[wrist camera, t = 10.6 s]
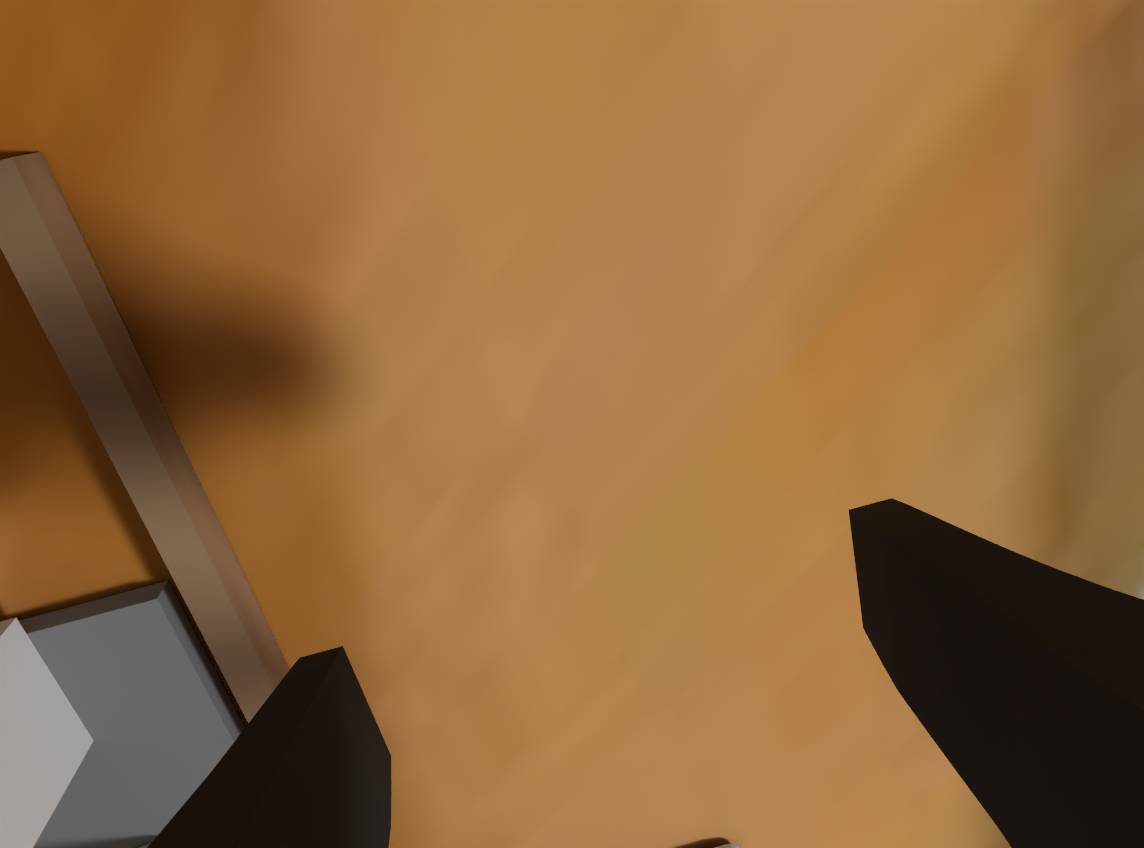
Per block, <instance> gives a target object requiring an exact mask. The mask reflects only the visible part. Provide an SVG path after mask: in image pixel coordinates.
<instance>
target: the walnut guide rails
mask: <svg viewBox="0 0 1144 848" xmlns="http://www.w3.org/2000/svg"><path fill="white" fill-rule="evenodd" d="M0 248H1V250H2V252H3V254H4V256H5V258H6V260H7V262H8V263H9V265H10V267H11V269H12V271H13V273H14V275H15V277H16V279H17V281H18V283H19V285H20V286H21V288H22V290H23V292H24V294H25V296H26V298H27V300H28V302H29V304H30V306H31V308H32V309H33V311H34V313H35V315H36V317H37V319H38V321H39V323H40V325H41V327H42V329H43V331H44V332H45V334H46V336H47V338H48V340H49V342H50V344H51V346H52V348H53V350H54V352H55V354H56V355H57V357H58V359H59V361H60V363H61V365H62V367H63V369H64V371H65V373H66V375H67V377H68V378H69V380H70V382H71V384H72V386H73V388H74V390H75V392H76V394H77V396H78V398H79V400H80V401H81V403H82V405H83V407H84V409H85V411H86V413H87V415H88V417H89V419H90V421H91V423H92V424H93V426H94V428H95V430H96V432H97V434H98V436H99V438H100V440H101V442H102V444H103V446H104V447H105V449H106V451H107V453H108V455H109V457H110V459H111V461H112V463H113V465H114V467H115V469H116V470H117V472H118V474H119V476H120V478H121V480H122V482H123V484H124V486H125V488H126V490H127V492H128V493H129V495H130V497H131V499H132V501H133V503H134V505H135V507H136V509H137V511H138V513H139V515H140V516H141V518H142V520H143V522H144V524H145V526H146V528H147V530H148V532H149V534H150V536H151V538H152V539H153V541H154V543H155V545H156V547H157V549H158V551H159V553H160V555H161V557H162V559H163V561H164V562H165V564H166V566H167V568H168V570H169V572H170V574H171V576H172V578H173V580H174V582H175V584H176V585H177V587H178V589H179V591H180V593H181V595H182V597H183V599H184V601H185V603H186V605H187V606H188V608H189V610H190V612H191V614H192V616H193V618H194V620H195V622H196V624H197V626H198V628H199V629H200V631H201V633H202V635H203V637H204V639H205V641H206V643H207V645H208V647H209V649H210V651H211V652H212V654H213V656H214V658H215V660H216V662H217V664H218V666H219V668H220V670H221V672H222V674H223V675H224V677H225V679H226V681H227V683H228V685H229V687H230V689H231V691H232V693H233V695H234V697H235V698H236V700H237V702H238V704H239V706H240V708H241V710H242V712H243V714H244V716H245V718H246V720H247V721H248V723H249V722H250V721H251V720H252V718H253V717H254V716H255V714H256V713H257V712H258V710H259V709H260V708H261V706H262V705H263V704H264V702H265V701H266V700H267V698H268V697H269V696H270V695H271V693H272V692H273V691H274V689H275V688H276V687H277V685H278V684H279V683H280V682H281V680H282V679H283V678H284V676H285V675H286V674H287V673H288V671H289V668H288V666H287V663H286V661H285V659H284V657H283V655H282V653H281V651H280V649H279V647H278V645H277V643H276V641H275V638H274V636H273V634H272V632H271V630H270V628H269V626H268V624H267V622H266V620H265V618H264V615H263V613H262V611H261V609H260V607H259V605H258V603H257V601H256V599H255V597H254V595H253V593H252V590H251V588H250V586H249V584H248V582H247V580H246V578H245V576H244V574H243V572H242V570H241V568H240V565H239V563H238V561H237V559H236V557H235V555H234V553H233V551H232V549H231V547H230V545H229V542H228V540H227V538H226V536H225V534H224V532H223V530H222V528H221V526H220V524H219V522H218V520H217V517H216V515H215V513H214V511H213V509H212V507H211V505H210V503H209V501H208V499H207V497H206V495H205V492H204V490H203V488H202V486H201V484H200V482H199V480H198V478H197V476H196V474H195V472H194V469H193V467H192V465H191V463H190V461H189V459H188V457H187V455H186V453H185V451H184V449H183V447H182V444H181V442H180V440H179V438H178V436H177V434H176V432H175V430H174V428H173V426H172V424H171V422H170V419H169V417H168V415H167V413H166V411H165V409H164V407H163V405H162V403H161V401H160V399H159V396H158V394H157V392H156V390H155V388H154V386H153V384H152V382H151V380H150V378H149V376H148V374H147V371H146V369H145V367H144V365H143V363H142V361H141V359H140V357H139V355H138V353H137V351H136V349H135V346H134V344H133V342H132V340H131V338H130V336H129V334H128V332H127V330H126V328H125V326H124V323H123V321H122V319H121V317H120V315H119V313H118V311H117V309H116V307H115V305H114V303H113V301H112V298H111V296H110V294H109V292H108V290H107V288H106V286H105V284H104V282H103V280H102V278H101V276H100V273H99V271H98V269H97V267H96V265H95V263H94V261H93V259H92V257H91V255H90V253H89V250H88V248H87V246H86V244H85V242H84V240H83V238H82V236H81V234H80V232H79V230H78V228H77V225H76V223H75V221H74V219H73V217H72V215H71V213H70V211H69V209H68V207H67V205H66V203H65V200H64V198H63V196H62V194H61V192H60V190H59V188H58V186H57V184H56V182H55V180H54V177H53V175H52V173H51V171H50V169H49V167H48V165H47V163H46V161H45V159H44V157H43V155H42V152H37V153H31V154H26V155H21V156H15V157H10V158H7V159H3V160H0Z"/></svg>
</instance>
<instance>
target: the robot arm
mask: <svg viewBox="0 0 1144 848" xmlns="http://www.w3.org/2000/svg"><path fill="white" fill-rule="evenodd" d="M849 516H850V524H851V532H852V540H853V548H854V556H855V564H856V572H857V580H858V588H859V596H860V605H861V613H862V621H863V628H864V630H865V632H866V634H867V636H868V638H869V639H870V641H871V643H872V645H873V647H874V649H875V651H876V652H877V654H878V656H879V658H880V660H881V662H882V664H883V665H884V667H885V669H886V671H887V672H888V674H889V676H890V678H891V679H892V681H893V683H894V685H895V686H896V688H897V690H898V691H899V693H900V694H901V695H902V697H903V698H904V700H905V701H906V703H907V704H908V705H909V707H910V708H911V709H912V711H913V712H914V714H915V715H916V716H917V718H918V719H919V720H920V722H921V723H922V725H923V726H924V727H925V729H926V730H927V732H928V733H929V734H930V736H931V737H932V738H933V740H934V741H935V742H936V744H937V745H938V747H939V748H940V749H941V751H942V752H943V753H944V755H945V756H946V757H947V759H948V760H949V761H950V763H951V764H952V766H953V767H954V768H955V770H956V771H957V772H958V774H959V775H960V776H961V778H962V779H963V780H964V782H965V783H966V785H967V786H968V787H969V789H970V790H971V791H972V793H973V794H974V795H975V797H976V798H977V799H978V801H979V802H980V804H981V805H982V806H983V808H984V809H985V810H986V812H987V813H988V814H989V816H990V817H991V818H992V820H993V821H994V823H995V824H996V825H997V827H998V828H999V830H1000V831H1001V832H1002V834H1003V835H1004V837H1005V838H1006V840H1007V841H1008V843H1009V844H1010V846H1011V847H1012V848H1144V600H1143V599H1139V598H1136V597H1133V596H1130V595H1127V594H1124V593H1121V592H1118V591H1115V590H1112V589H1109V588H1106V587H1104V586H1101V585H1098V584H1096V583H1093V582H1090V581H1087V580H1085V579H1082V578H1079V577H1076V576H1074V575H1071V574H1068V573H1066V572H1063V571H1060V570H1058V569H1055V568H1052V567H1050V566H1047V565H1045V564H1042V563H1040V562H1037V561H1035V560H1032V559H1030V558H1028V557H1025V556H1023V555H1020V554H1018V553H1015V552H1013V551H1011V550H1008V549H1006V548H1004V547H1001V546H999V545H997V544H994V543H992V542H990V541H988V540H985V539H983V538H981V537H978V536H976V535H974V534H972V533H969V532H967V531H965V530H963V529H961V528H958V527H956V526H954V525H952V524H950V523H947V522H945V521H943V520H941V519H938V518H936V517H934V516H932V515H930V514H927V513H925V512H923V511H921V510H918V509H916V508H914V507H912V506H909V505H907V504H905V503H902V502H900V501H897V500H894V499H892V498H891V499H888V500H884V501H880V502H877V503H873V504H869V505H865V506H862V507H858V508H854V509H851V510H849ZM390 829H391V755H390V752H389V750H388V748H387V746H386V743H385V741H384V739H383V737H382V734H381V732H380V730H379V727H378V725H377V723H376V721H375V718H374V716H373V714H372V712H371V709H370V707H369V705H368V703H367V700H366V698H365V696H364V693H363V691H362V689H361V687H360V684H359V682H358V680H357V678H356V675H355V673H354V671H353V668H352V666H351V664H350V662H349V659H348V657H347V655H346V653H345V650H344V648H343V646H342V647H338V648H334V649H331V650H327V651H323V652H320V653H316V654H312V655H308V656H305V657H301V658H299V660H298V661H297V662H296V663H295V664H294V665H293V667H292V668H291V669H290V670H289V671H288V673H287V674H286V675H285V676H284V678H283V679H282V680H281V682H280V683H279V684H278V685H277V687H276V688H275V689H274V691H273V692H272V693H271V695H270V696H269V697H268V698H267V700H266V701H265V702H264V704H263V705H262V706H261V708H260V709H259V710H258V712H257V713H256V714H255V716H254V717H253V718H252V720H251V721H250V722H249V724H248V725H247V726H246V727H245V729H244V730H243V731H242V733H241V734H240V735H239V736H238V738H237V739H236V740H235V742H234V743H233V744H232V745H231V747H230V748H229V749H228V751H227V752H226V753H225V755H224V756H223V757H222V758H221V760H220V761H219V762H218V764H217V765H216V766H215V767H214V769H213V770H212V771H211V772H210V774H209V775H208V776H207V777H206V779H205V780H204V781H203V782H202V783H201V784H200V786H199V787H198V788H197V789H196V790H195V792H194V793H193V794H192V795H191V796H190V798H189V799H188V800H187V801H186V802H185V803H184V805H183V806H182V807H181V808H180V809H179V811H178V812H177V813H176V814H175V815H174V817H173V818H172V819H171V820H170V821H169V823H168V824H167V825H166V826H165V827H164V828H163V830H162V831H161V832H160V833H159V834H158V836H157V837H156V838H155V839H154V840H153V841H152V842H151V844H150V845H149V846H148V847H147V848H388V846H389V837H390ZM714 848H740V847H738V846H737V845H732V844H726V845H721V846H718V847H714Z"/></svg>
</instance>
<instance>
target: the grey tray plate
mask: <svg viewBox="0 0 1144 848" xmlns="http://www.w3.org/2000/svg"><path fill="white" fill-rule="evenodd" d="M244 729H245V726H244V724H243V722H242V720H241V718H240V716H239V715H238V713H237V711H236V709H235V707H234V705H233V703H232V701H231V699H230V697H229V696H228V694H227V692H226V690H225V688H224V686H223V684H222V682H221V680H220V678H219V676H218V675H217V673H216V671H215V669H214V667H213V665H212V663H211V661H210V659H209V657H208V656H207V654H206V652H205V650H204V648H203V646H202V644H201V642H200V640H199V638H198V637H197V635H196V633H195V631H194V629H193V627H192V625H191V623H190V621H189V619H188V617H187V616H186V614H185V612H184V610H183V608H182V606H181V604H180V602H179V600H178V598H177V597H176V595H175V593H174V591H173V589H172V587H171V585H170V583H169V581H164V582H160V583H157V584H153V585H149V586H146V587H142V588H138V589H134V590H131V591H127V592H123V593H119V594H116V595H112V596H108V597H105V598H101V599H97V600H93V601H90V602H86V603H82V604H79V605H75V606H71V607H67V608H64V609H60V610H56V611H52V612H49V613H45V614H41V615H38V616H34V617H30V618H26V619H23V620H19V621H18V619H17V618H12V619H8V620H5V621H1V622H0V848H139V847H141V846H144V845H147V844H149V843H151V842H152V841H153V840H154V839H155V838H156V837H157V836H158V834H159V833H160V832H161V831H162V830H163V828H164V827H165V826H166V825H167V824H168V823H169V821H170V820H171V819H172V818H173V817H174V815H175V814H176V813H177V812H178V811H179V809H180V808H181V807H182V806H183V805H184V803H185V802H186V801H187V800H188V799H189V798H190V796H191V795H192V794H193V793H194V792H195V790H196V789H197V788H198V787H199V786H200V784H201V783H202V782H203V781H204V780H205V779H206V777H207V776H208V775H209V774H210V772H211V771H212V770H213V769H214V767H215V766H216V765H217V764H218V762H219V761H220V760H221V758H222V757H223V756H224V755H225V753H226V752H227V751H228V749H229V748H230V747H231V745H232V744H233V743H234V742H235V740H236V739H237V738H238V736H239V735H240V734H241V733H242V731H243V730H244Z"/></svg>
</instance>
